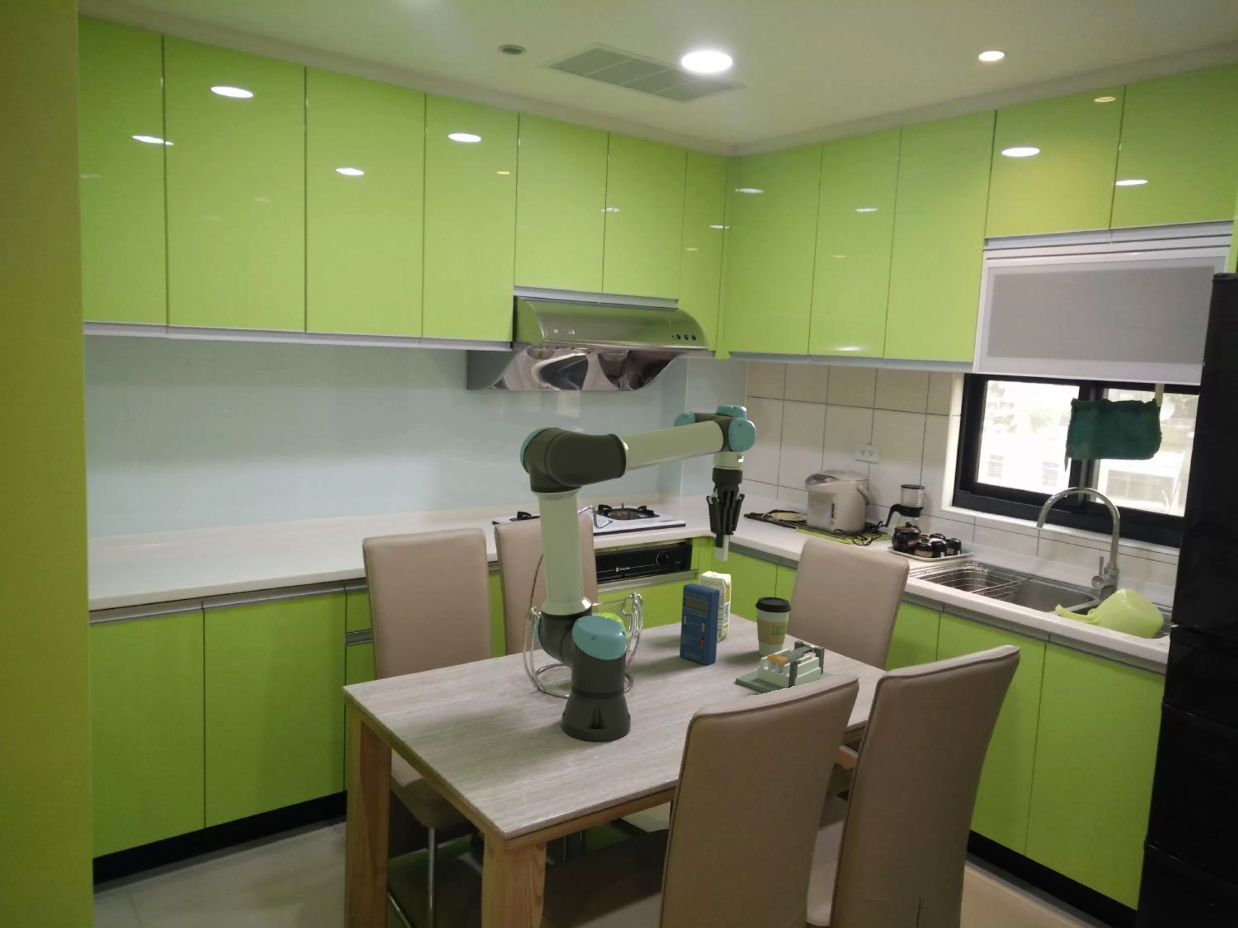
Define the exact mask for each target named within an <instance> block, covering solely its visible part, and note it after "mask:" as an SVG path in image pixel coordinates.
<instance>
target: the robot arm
mask: <svg viewBox="0 0 1238 928" xmlns="http://www.w3.org/2000/svg"><path fill="white" fill-rule="evenodd" d="M747 416H748V414H747V408H746V407H745V406H742V405H735V404H734V405H732V404H719V405H717V407H716V411H715V412H713V413H712V412H694V411H693V412H692V411H689V412H681V413H678V415H677V416H676V417H675V418H674V422H673V427H668V428H667V427H666V428H662V429H655V430H651V431H644V432H639V433H633V434H628V435H624V436H623V435H622V436H619V435H618V434H616V433H608V434H590V433H589V434H588V433H582V432H576V431H571V430H567V429H562V428H559V427H556V426H555V427H550V426H549V427H547V426H545V427H541V428H537V429H535V430H533V431H532V432H530V434H528V436H527V437H526V438H525V439H524V441H523V442H522V444H521V447H520V451H519V461H520V464H521V466H522V469H523V470H524V471H525V473H526V474H528V475H529V476H528V477H529V484H530V492H531V493H532V494H533V495H534V496H536V497H537V499H538V508H539V509H538V510H539V521H540V533H541V545H542V556H543V557H542V558H543V569H544V579H545V581H544V582H545V589H546V590H545V591H546V599H545V601H544V602H542V604H541V606H540V612H541V613H540V614H539V615H540V616H539V617H538V618H537V620H536V623H535V628H534V629H535V630H534V631H535V632H534V633H535V639H536V641H537V643H538V644H539V646H540V648H541V649H542V651H544V652H545V653H546V654H547V655H548V656H549V657H551V659H554V660H557V661H558V662H560V663H561V664H563V665H564V666H566V667H568V669H571V673H570V674H571V676H570V679H571V680H570V692H569V696H568V699H567V701H566V704H565V708H564V710H563V712H562V715H561V729H562V731H564V733H566V735H569V736H570V737H573V738H576V739H579V740H584V741H589V742H608V741H614V740H618V739H620V738H623V737H624V736H626V735H628V734H629V733H630V731H631V725H632V724H631V723H632V719H631V715H630V712H629V710H628V703H627V700H626V695H625V679H626V678H625V677H626V658H627V656H626V649H627V640H626V631H625V629H624V627H623V626H622V625H621V624H620V623H619V622H617V620H616V619H613V618H610V617H605V616H604V615H603V616H602V615H593V605H592V604H593V603H592V600H590V599H589V598H588V597H587V596H585V589H584V586H585V585H584V578H583V577H584V573H583V562H582V561H583V559H582V549H581V535H580V523H579V522H580V521H579V520H580V519H579V508H578V506H579V505H578V497H577V496H578V493H579V492H580V491H581V490H582V489H583V488H584V486H589V485H594V484H599V483H602V482H606V481H607V482H608V481H612V480H615V479H620V478H622V477H624V476H625V474H626V472H629V471H630V472H631V471H635V470H640V469H645V468H651V467H655V466H659V465H664V464H670V463H673V462H678V461H679V462H680V461H684V460H689V459H693V458H698V457H702V456H708V455H713V456H712V457H713V458H712V465H713V466H714V467H713V468H712V471H711V472H712V474H711V481H712V483H714V486H713V491H712V493H711V495H706V496H705V500H706V502H707V505H708V516H709V528H710V530H709V531H710V532H711V533H712V534H714V535H715V536H716V537H715V556H714V557H715V558H714V559H715V560H716V561H719V562H720V561H721V562H728V558H729V557H728V556H729V546H730V537H731V536H734V535H735V532H736V531H737V528H738V522H739V519H740V514H741V510H742V509H741V508H742V504H743V502H744V499H745V497H746V494H744V493H741V492H740V487H739V485H741V484H742V482H743V473H744V470H743V468H742V467H744V459H745V458H744V456H745V452H748V451H749V450H751V448H752V447H753V446H754V445H755V443H756V440H757V428H756V426H755V424H754V423H753V422H752V421H751V420H748V418H747Z"/></svg>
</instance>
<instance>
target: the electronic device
mask: <svg viewBox="0 0 1238 928" xmlns="http://www.w3.org/2000/svg"><path fill="white" fill-rule="evenodd" d="M719 596H720V591H719V590H717V589H713V588H709V587H705V586H701V585H698V583H697V584H696V583H693V582H691V583H687V584H684V585H683V587H682V606H681V607H682V608H681V621H680V622H681V623H680V624H681V625H680V645H679V657H682V658H684V659H688V660H691V661H694V662H697V663H700V664H703V665H707V666H709V665H711V664H715V663H716V660H717V647H718V646H717V644H718V642H717V625H718V607H719Z"/></svg>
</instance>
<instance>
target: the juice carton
mask: <svg viewBox="0 0 1238 928" xmlns="http://www.w3.org/2000/svg"><path fill="white" fill-rule="evenodd" d="M731 578H732V577H731V574H729V573H718V572H716V571H711V570H709V571H706V572H704V573H702V574H699V579H698V583H697V585H701V586H705V587H709V588H713V589H717V590H719V591H720V596H719V607H718V625H717V643H720V642H721V641H723V640H725V639H726V638H727V637H728V633H729V630H730V615H731V614H730V612H731V597H732V595H731V593H732V579H731Z"/></svg>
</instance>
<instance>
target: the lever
mask: <svg viewBox="0 0 1238 928" xmlns="http://www.w3.org/2000/svg"><path fill="white" fill-rule="evenodd" d="M817 647H818V646H813V645H809V644H806V643H803V644H802V645H801V648H798V649H795V650H794V649H793V650H790V652H787V653H784V654H781V655H776V654H772V655H769V656H767V660H768V661H771V662H774V663H778V664H783V663H786V662H787V661H788V660H791V659H793V658H796V657H799V656H801V655H804V656H805V655H806V654H807V655H808V654H809V653H812V654H816V648H817Z"/></svg>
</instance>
